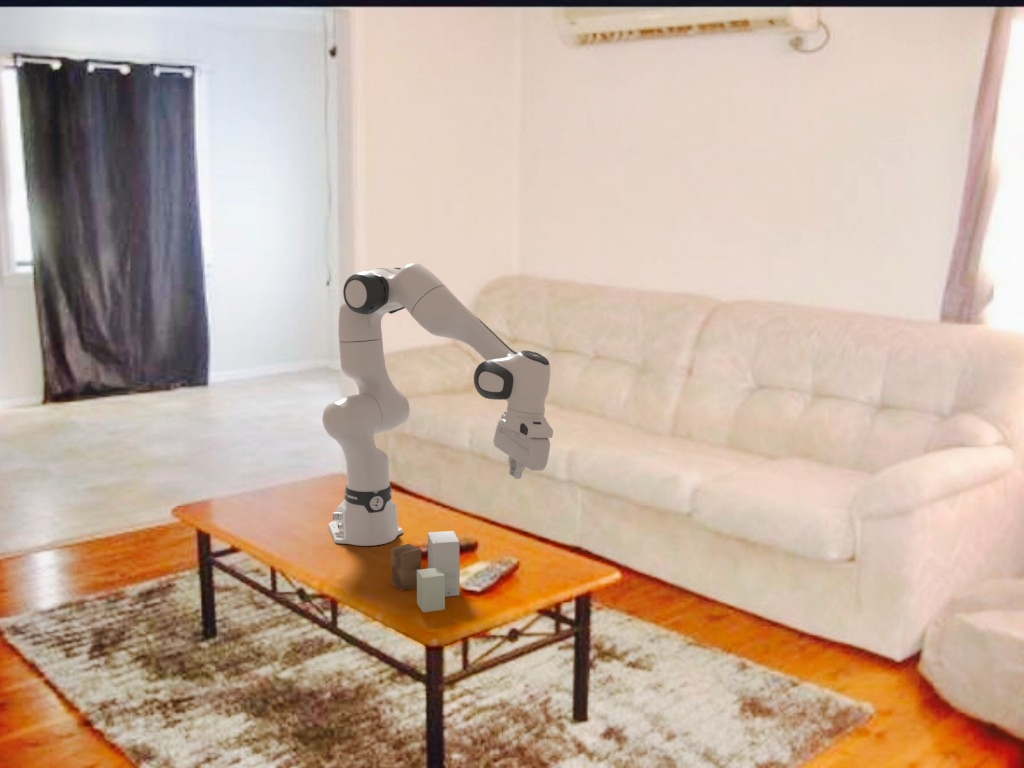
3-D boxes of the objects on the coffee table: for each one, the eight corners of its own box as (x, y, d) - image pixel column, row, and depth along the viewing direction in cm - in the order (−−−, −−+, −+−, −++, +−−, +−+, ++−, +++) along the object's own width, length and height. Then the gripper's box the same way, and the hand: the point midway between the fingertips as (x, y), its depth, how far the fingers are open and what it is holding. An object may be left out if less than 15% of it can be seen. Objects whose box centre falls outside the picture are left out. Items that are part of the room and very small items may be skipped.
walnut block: (391, 584, 242) (391, 547, 241) (409, 579, 246) (409, 543, 244) (403, 591, 239) (402, 553, 237) (421, 586, 242) (421, 549, 240)
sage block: (417, 603, 231) (416, 570, 230) (438, 600, 233) (438, 567, 232) (423, 612, 227) (422, 577, 225) (444, 609, 229) (444, 575, 227)
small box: (460, 596, 236) (460, 541, 233) (432, 598, 235) (432, 543, 232) (454, 582, 244) (454, 530, 241) (427, 584, 242) (427, 531, 240)
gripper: (492, 408, 250) (483, 463, 252) (533, 432, 232) (523, 491, 235) (514, 409, 253) (506, 463, 256) (557, 433, 236) (547, 490, 238)
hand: (514, 476), depth 245 cm, fingers closed
